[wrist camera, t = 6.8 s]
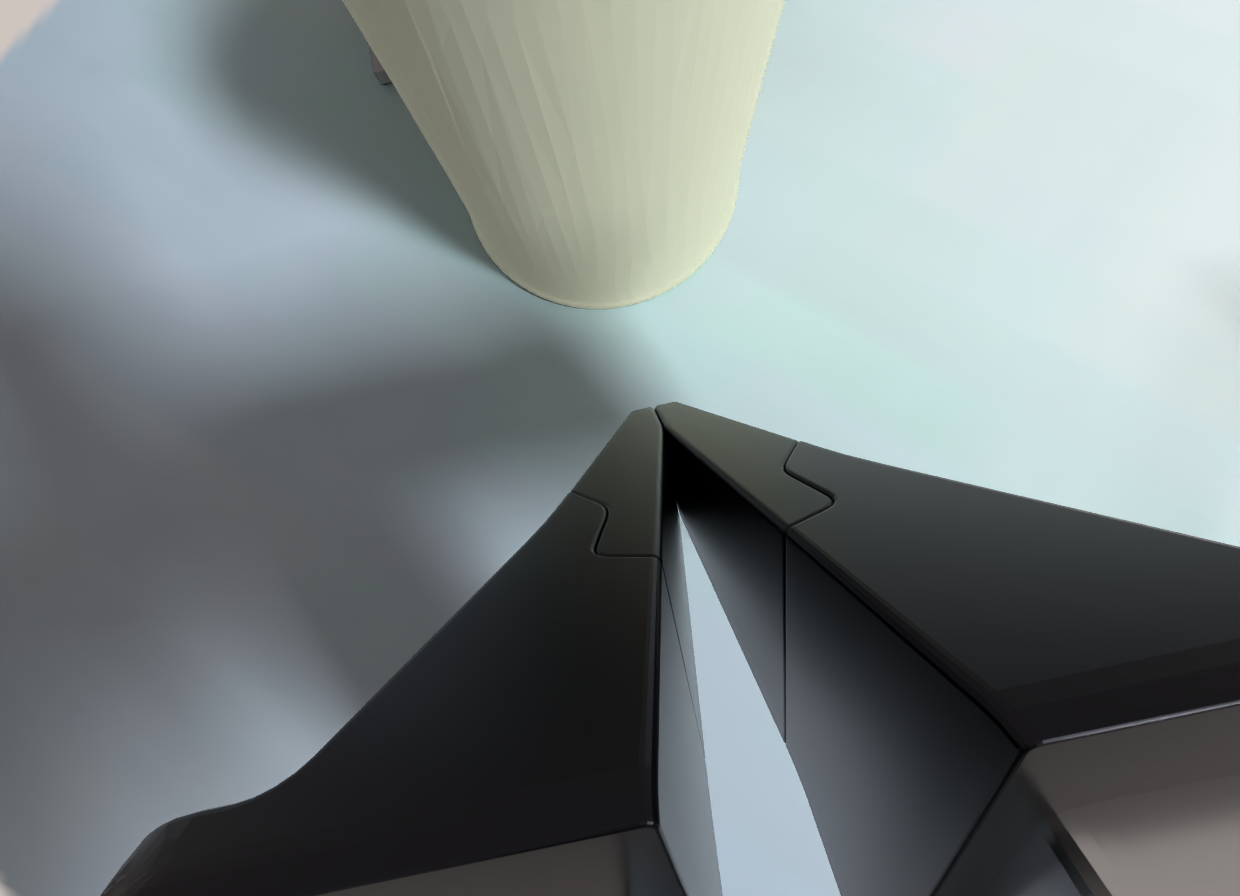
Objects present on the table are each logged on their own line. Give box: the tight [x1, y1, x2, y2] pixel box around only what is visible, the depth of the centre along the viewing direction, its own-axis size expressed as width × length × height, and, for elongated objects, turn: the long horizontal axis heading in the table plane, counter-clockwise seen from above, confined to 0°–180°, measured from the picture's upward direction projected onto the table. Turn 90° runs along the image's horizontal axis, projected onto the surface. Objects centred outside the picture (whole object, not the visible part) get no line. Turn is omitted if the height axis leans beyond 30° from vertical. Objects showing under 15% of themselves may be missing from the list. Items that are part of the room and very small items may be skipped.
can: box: [342, 0, 785, 309], centre depth 12 cm, size 9×9×12 cm
